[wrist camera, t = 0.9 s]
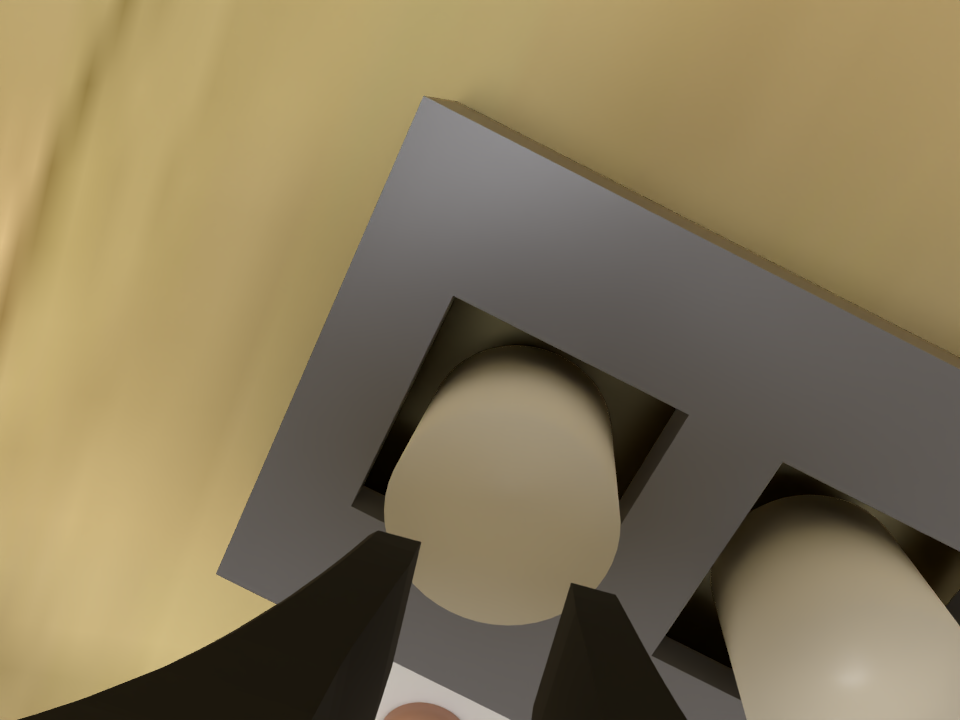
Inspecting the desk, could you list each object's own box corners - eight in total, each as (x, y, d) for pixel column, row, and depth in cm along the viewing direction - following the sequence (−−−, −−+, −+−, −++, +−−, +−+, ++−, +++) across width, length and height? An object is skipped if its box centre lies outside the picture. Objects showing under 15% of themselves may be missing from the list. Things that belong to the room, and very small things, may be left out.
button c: (646, 398, 17) (665, 480, 13) (557, 547, 18) (551, 662, 14) (475, 312, 17) (443, 369, 13) (398, 467, 18) (348, 561, 14)
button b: (942, 548, 17) (1046, 672, 13) (833, 685, 18) (901, 835, 14) (773, 463, 17) (829, 562, 13) (676, 607, 18) (702, 736, 14)
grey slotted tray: (1354, 558, 18) (1556, 673, 15) (1042, 872, 22) (1140, 1031, 18) (457, 101, 18) (423, 96, 14) (281, 493, 21) (215, 574, 17)
